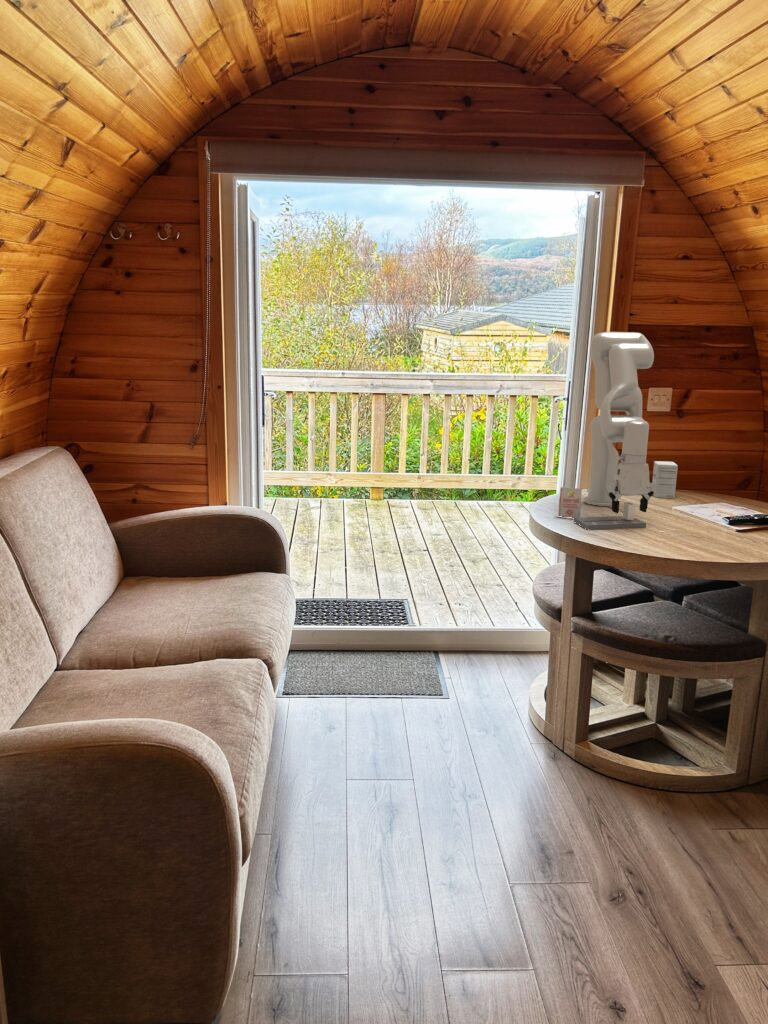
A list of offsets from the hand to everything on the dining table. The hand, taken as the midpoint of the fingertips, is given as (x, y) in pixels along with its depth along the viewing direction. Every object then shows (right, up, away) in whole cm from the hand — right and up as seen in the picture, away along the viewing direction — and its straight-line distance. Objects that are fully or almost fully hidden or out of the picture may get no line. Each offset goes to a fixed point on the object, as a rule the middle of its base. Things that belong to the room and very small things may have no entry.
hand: (629, 511), depth 258 cm
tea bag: (-17, -2, +9) cm, 20 cm away
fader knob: (0, -2, +1) cm, 2 cm away
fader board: (-6, -4, 0) cm, 8 cm away
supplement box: (+26, +6, +44) cm, 52 cm away
